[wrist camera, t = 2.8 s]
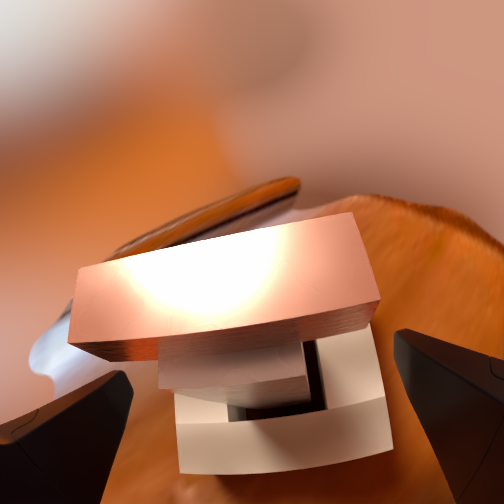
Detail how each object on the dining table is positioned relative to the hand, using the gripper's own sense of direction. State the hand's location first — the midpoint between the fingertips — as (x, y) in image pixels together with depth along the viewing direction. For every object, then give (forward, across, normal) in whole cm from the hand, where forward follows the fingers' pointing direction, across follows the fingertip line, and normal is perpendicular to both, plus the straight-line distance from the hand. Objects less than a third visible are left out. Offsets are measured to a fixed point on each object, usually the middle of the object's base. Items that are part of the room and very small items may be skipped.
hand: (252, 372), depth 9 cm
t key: (+7, 0, +6) cm, 9 cm away
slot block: (+7, 0, +6) cm, 9 cm away
